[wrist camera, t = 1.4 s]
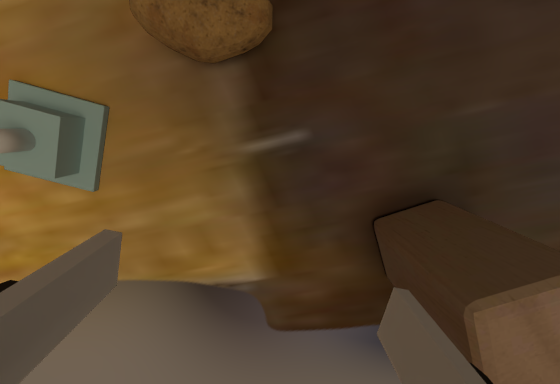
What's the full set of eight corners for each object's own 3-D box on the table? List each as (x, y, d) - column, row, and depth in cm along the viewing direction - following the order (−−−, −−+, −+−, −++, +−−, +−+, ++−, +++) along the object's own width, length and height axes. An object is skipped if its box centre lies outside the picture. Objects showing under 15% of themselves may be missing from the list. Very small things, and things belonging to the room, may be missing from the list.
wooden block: (385, 279, 40) (491, 420, 21) (369, 218, 38) (470, 313, 18) (452, 258, 40) (623, 384, 20) (439, 196, 37) (619, 270, 18)
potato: (266, 80, 33) (264, 66, 26) (150, 57, 33) (112, 35, 25) (280, -8, 31) (282, -53, 24) (157, -36, 30) (117, -92, 23)
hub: (17, 81, 33) (-92, 61, 23) (109, 106, 34) (42, 98, 24) (11, 168, 35) (-89, 183, 25) (98, 190, 36) (33, 213, 26)
